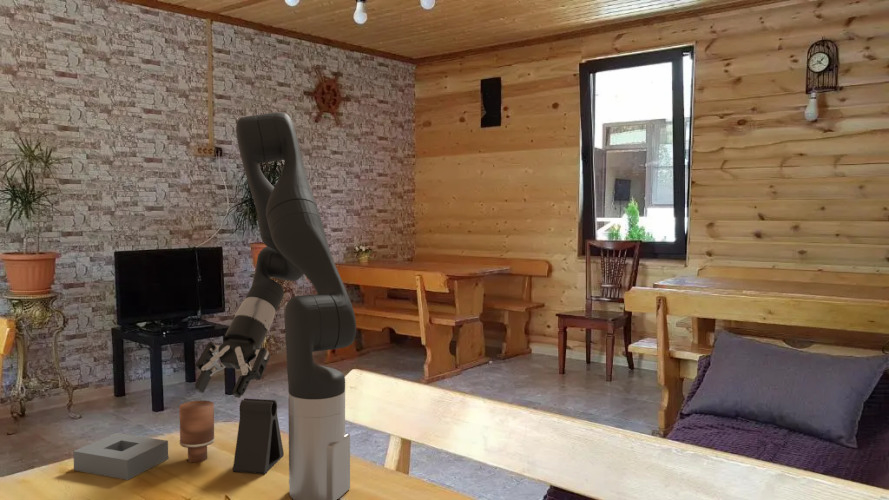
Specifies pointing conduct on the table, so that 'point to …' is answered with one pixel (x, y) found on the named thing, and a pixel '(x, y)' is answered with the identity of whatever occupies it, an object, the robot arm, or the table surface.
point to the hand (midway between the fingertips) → (217, 393)
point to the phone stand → (257, 437)
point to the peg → (197, 428)
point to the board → (120, 455)
